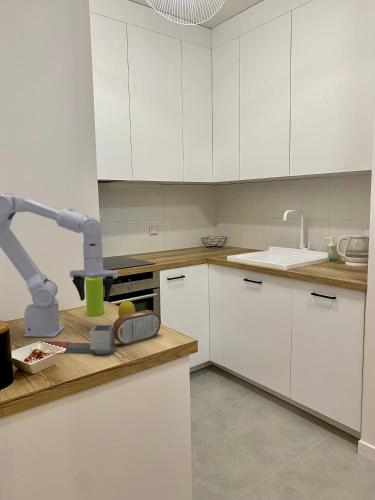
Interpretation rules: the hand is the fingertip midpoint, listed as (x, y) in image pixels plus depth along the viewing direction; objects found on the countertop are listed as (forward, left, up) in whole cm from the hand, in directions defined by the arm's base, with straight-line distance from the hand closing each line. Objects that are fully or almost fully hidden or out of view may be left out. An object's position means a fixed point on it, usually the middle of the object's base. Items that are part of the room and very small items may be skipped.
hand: (94, 299), depth 115 cm
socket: (+7, -17, -8) cm, 20 cm away
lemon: (+9, +5, -10) cm, 14 cm away
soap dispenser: (-4, +14, -10) cm, 17 cm away
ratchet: (0, -17, -9) cm, 19 cm away
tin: (+15, -9, -10) cm, 20 cm away
